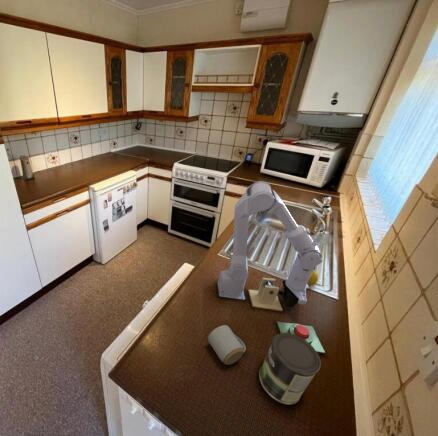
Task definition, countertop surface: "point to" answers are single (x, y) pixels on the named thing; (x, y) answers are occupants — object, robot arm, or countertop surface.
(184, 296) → the countertop surface
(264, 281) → the lever bracket
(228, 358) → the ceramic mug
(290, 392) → the coffee can
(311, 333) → the control block
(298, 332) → the button
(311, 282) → the lemon
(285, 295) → the press lever
